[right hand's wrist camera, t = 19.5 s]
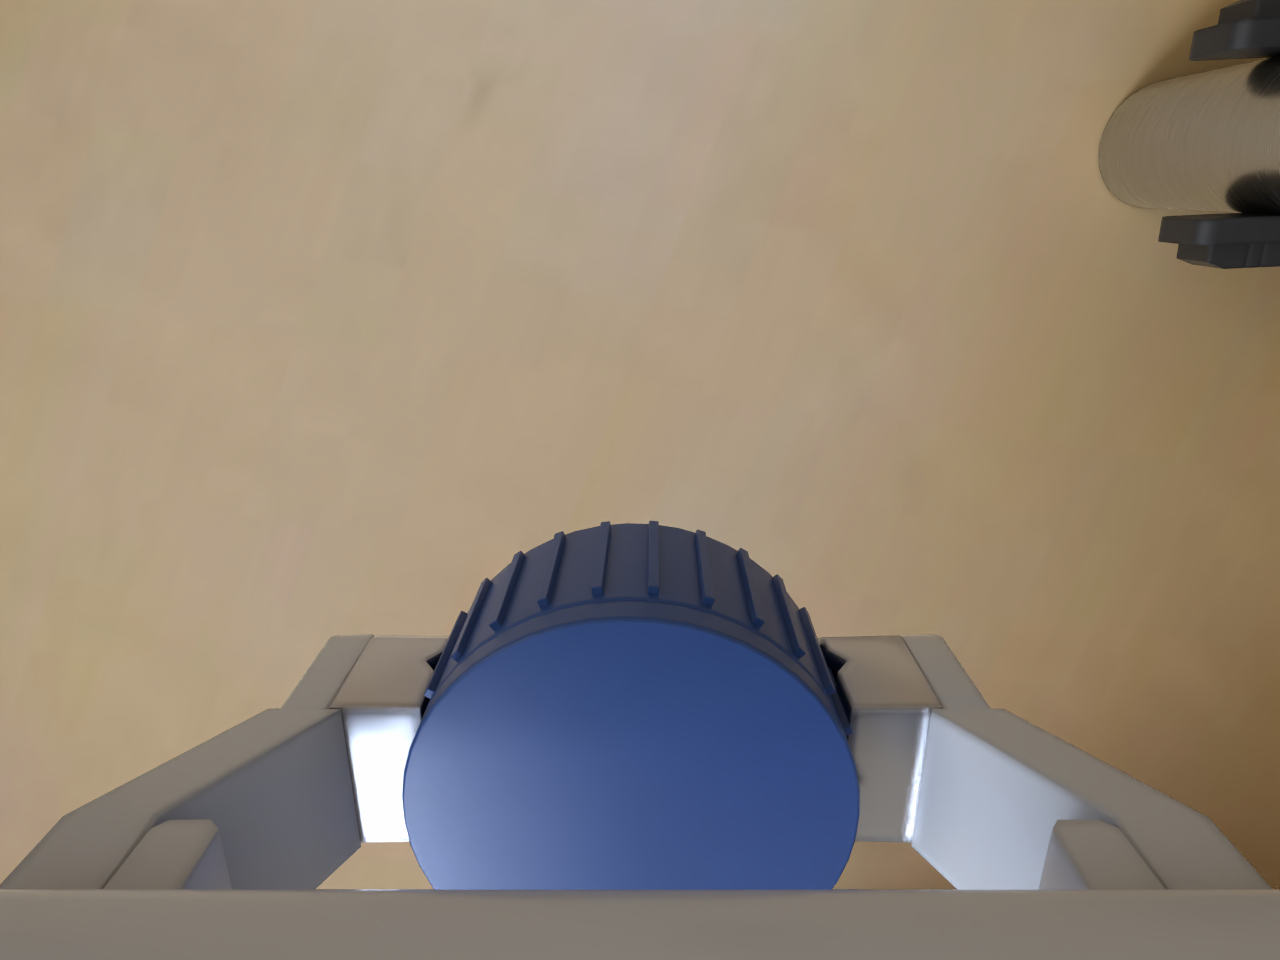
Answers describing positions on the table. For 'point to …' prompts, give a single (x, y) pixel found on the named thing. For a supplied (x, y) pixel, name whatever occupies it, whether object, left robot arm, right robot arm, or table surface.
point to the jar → (1199, 142)
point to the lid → (632, 727)
